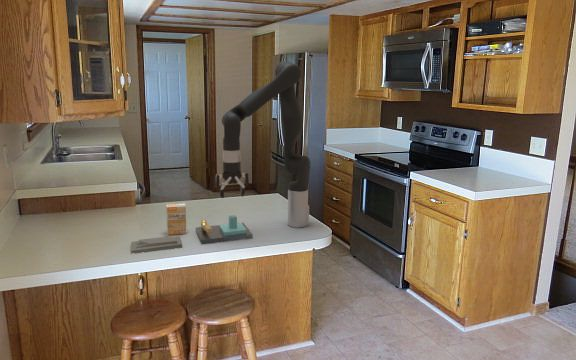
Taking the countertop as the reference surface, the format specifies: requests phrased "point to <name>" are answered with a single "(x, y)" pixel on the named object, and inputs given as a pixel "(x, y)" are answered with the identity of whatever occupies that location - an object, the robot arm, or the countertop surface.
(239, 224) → the cover
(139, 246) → the soap mold
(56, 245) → the countertop surface
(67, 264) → the countertop surface
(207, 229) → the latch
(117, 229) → the countertop surface
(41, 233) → the countertop surface
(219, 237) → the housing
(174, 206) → the supplement box
